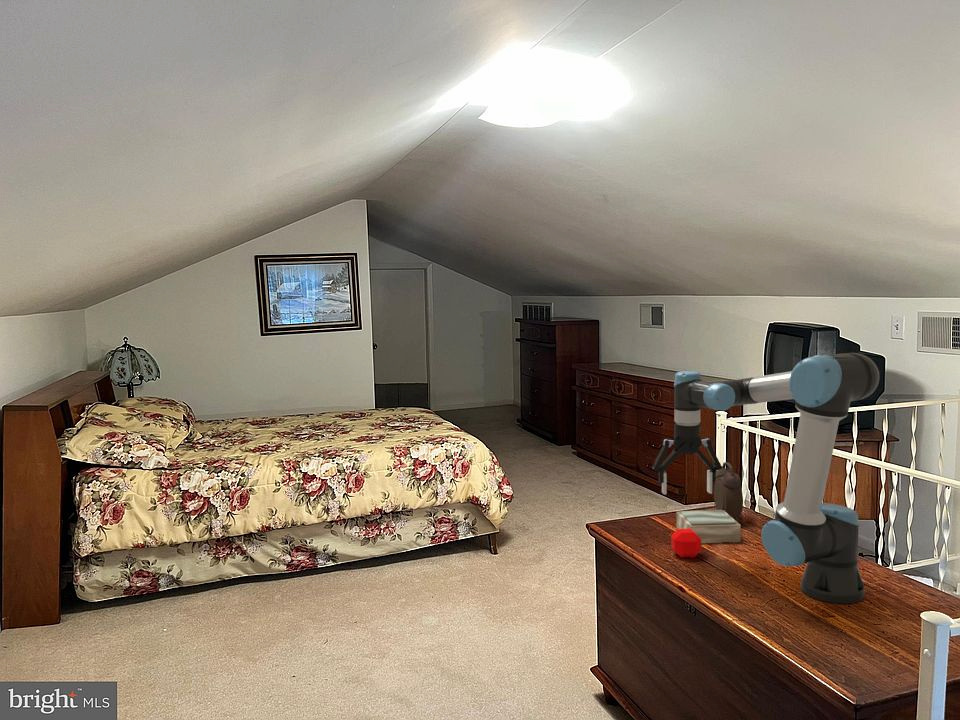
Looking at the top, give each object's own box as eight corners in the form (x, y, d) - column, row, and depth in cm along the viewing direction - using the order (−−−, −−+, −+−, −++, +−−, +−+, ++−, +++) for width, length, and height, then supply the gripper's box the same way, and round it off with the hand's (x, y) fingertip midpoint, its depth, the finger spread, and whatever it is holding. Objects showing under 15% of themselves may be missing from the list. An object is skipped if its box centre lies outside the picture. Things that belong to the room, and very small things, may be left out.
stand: (740, 542, 234) (740, 523, 233) (689, 543, 234) (689, 525, 233) (723, 526, 250) (723, 508, 249) (676, 527, 250) (676, 510, 249)
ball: (695, 550, 228) (695, 526, 227) (703, 559, 220) (703, 534, 219) (669, 551, 228) (669, 526, 227) (676, 560, 220) (676, 535, 219)
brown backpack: (746, 526, 249) (746, 467, 247) (724, 526, 249) (724, 468, 248) (732, 513, 264) (732, 458, 262) (712, 513, 264) (712, 458, 262)
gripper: (725, 420, 224) (724, 488, 226) (642, 421, 224) (642, 490, 226) (733, 424, 216) (732, 495, 218) (648, 426, 216) (647, 497, 219)
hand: (686, 492), depth 222 cm, fingers open, 13 cm apart
